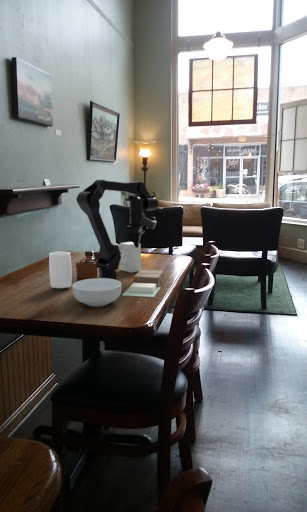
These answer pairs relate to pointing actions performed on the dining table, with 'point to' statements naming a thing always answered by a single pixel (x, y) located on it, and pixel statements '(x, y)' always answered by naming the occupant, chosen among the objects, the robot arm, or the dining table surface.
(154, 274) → the brown flat wooden block
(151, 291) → the white rectangular block
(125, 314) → the dining table surface
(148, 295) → the mat
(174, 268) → the dining table surface
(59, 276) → the cup
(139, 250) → the small box
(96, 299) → the cereal bowl
